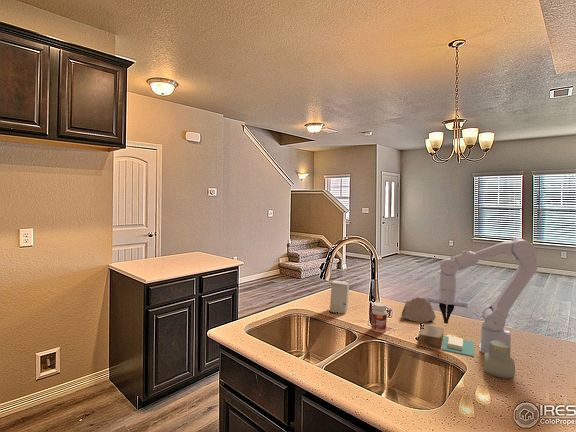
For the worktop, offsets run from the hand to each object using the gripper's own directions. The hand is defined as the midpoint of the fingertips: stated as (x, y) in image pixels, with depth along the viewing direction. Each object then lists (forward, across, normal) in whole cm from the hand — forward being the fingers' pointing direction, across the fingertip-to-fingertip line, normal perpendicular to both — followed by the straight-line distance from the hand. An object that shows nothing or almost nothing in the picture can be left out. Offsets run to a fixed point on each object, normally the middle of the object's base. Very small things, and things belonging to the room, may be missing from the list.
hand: (446, 322), depth 133 cm
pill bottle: (+8, -26, -1) cm, 27 cm away
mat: (+8, +5, -1) cm, 9 cm away
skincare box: (+8, -49, +13) cm, 51 cm away
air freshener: (+8, +17, -17) cm, 25 cm away
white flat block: (+6, +4, -1) cm, 7 cm away
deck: (+8, -5, -1) cm, 10 cm away
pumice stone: (+8, -13, +22) cm, 27 cm away
